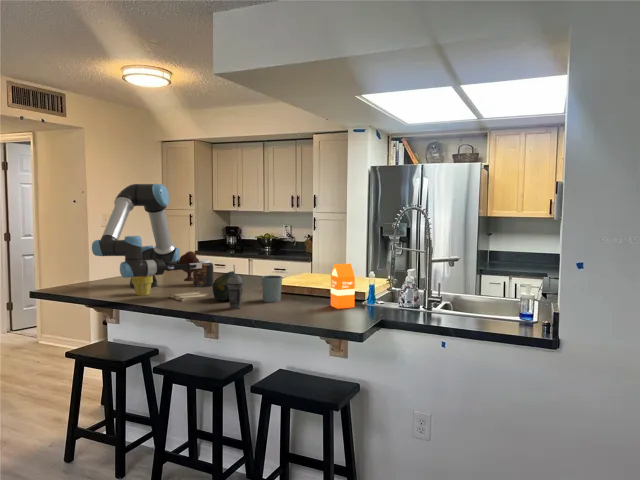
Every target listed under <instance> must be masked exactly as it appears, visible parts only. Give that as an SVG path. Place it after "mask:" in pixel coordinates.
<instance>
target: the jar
mask: <svg viewBox="0 0 640 480" xmlns="http://www.w3.org/2000/svg"><path fill="white" fill-rule="evenodd" d="M199 262H200V263H202V268H198V269H197V270H195V271H193V272H192V278H193V279H195V281H192V287H195V288H196V287H197V288H207V287H213V284H214V281H215V278H214V275H215V274H214V264H213V263H212V262H211V259H208V258H207V259H206V258H205V259H204V258H202V259H199Z"/></svg>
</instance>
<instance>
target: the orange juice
mask: <svg viewBox="0 0 640 480" xmlns="http://www.w3.org/2000/svg"><path fill="white" fill-rule="evenodd" d="M355 280H356V277H355V273H354V269H353V266H352V263H351V262H350V263H335V264H333V268H332V272H331V274H330V306H331V307H332V308H333V307H334V308H335V309H339V310H340V309H348V308H349V309H350V308H355V294H356V293H355V292H356V290H355V285H356V284H355Z"/></svg>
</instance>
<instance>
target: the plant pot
mask: <svg viewBox="0 0 640 480" xmlns="http://www.w3.org/2000/svg"><path fill="white" fill-rule="evenodd" d="M152 282H153V276H152V275H151V276H150V277H148V276H141V277H133V278H132V283H133V284H134V291H135V294H136V296H137V295H138V296H142V297H143V296H149V295H150V294H151V289H152V287H151V283H152ZM138 296H137V297H138Z"/></svg>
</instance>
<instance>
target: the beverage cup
mask: <svg viewBox="0 0 640 480" xmlns="http://www.w3.org/2000/svg"><path fill="white" fill-rule="evenodd" d="M235 267H236V266H235V264H233V272H234V275H231V276H230V277H229V278H228V281H227V286H228V291H229V301H228V302H229V309H230V308H231V310H239V309H238V308H240V309H241V305H242V295H243V284H244V282H243V281H244V280H243V278H242V277H241V276H240V275H239V274H236V268H235ZM241 294H242V295H241Z"/></svg>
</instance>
